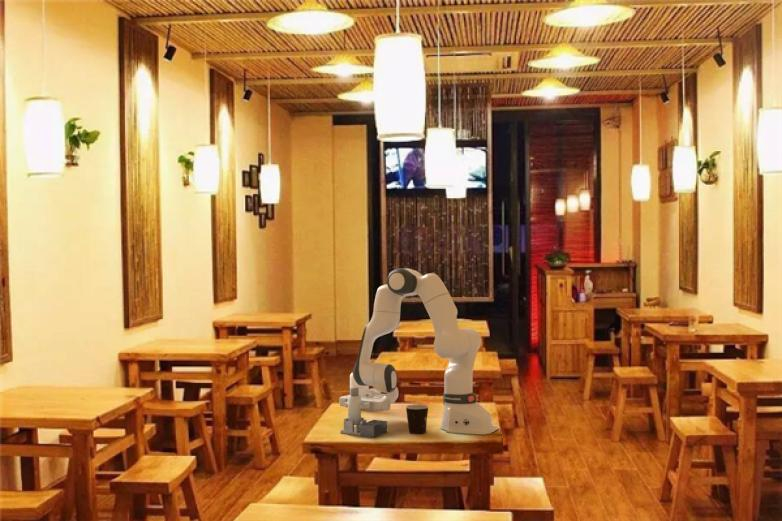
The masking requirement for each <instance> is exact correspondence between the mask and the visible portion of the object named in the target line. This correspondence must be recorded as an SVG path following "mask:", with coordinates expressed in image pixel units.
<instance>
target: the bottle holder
mask: <svg viewBox="0 0 782 521" xmlns="http://www.w3.org/2000/svg"><path fill="white" fill-rule="evenodd" d="M387 433H388V420H381V419H380V420H379V419H372V420H370V421H367V419H365V417H362V416H361V421H360V425H354V421H348V417H345V418H344V419H343V429H340V434H345V435H353V436H359V437H362V438H370V439H376V438H378V437H380V436H383V435H386V434H387Z"/></svg>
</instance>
